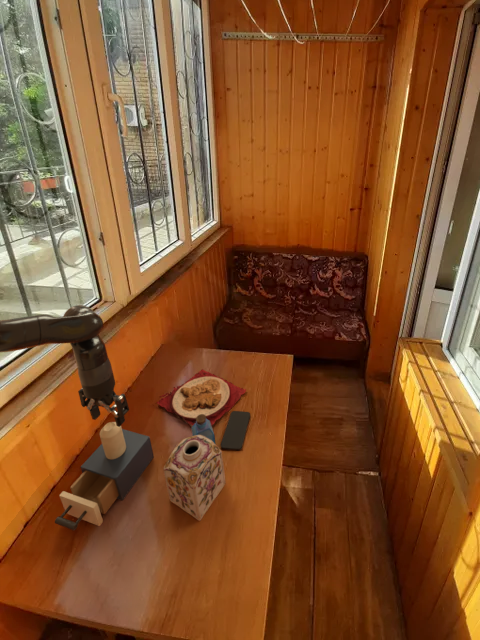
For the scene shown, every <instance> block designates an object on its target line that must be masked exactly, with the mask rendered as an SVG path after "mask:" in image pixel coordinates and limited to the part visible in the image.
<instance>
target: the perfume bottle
mask: <svg viewBox="0 0 480 640" xmlns="http://www.w3.org/2000/svg"><path fill="white" fill-rule="evenodd" d="M195 435H202V436H205V437H207V438H208V439H210V440H212V441H213V442H214V444H215V445H217V444H216V437H215V433H214V429H213V425H212V426H211V423H210V421H209V420H208V419H206V416H205V415H204V414H200V415H198V416H197V417H196V423H195V424H194V425H193V426H191V436H195Z"/></svg>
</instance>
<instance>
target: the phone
mask: <svg viewBox="0 0 480 640" xmlns="http://www.w3.org/2000/svg"><path fill="white" fill-rule="evenodd" d="M250 419H251V413H250V412H249V411H242V410H241V411H240V410H233V411H231V412H230V414H229V418H228V421H227V424H226V427H225V430H224V433H223V436H222V439H221V442H220V448H221V450H227V451H228V450H229V451H241V450H242V449H243V446H244V441H245V438H246V434H247V430H248V426H249V423H250Z"/></svg>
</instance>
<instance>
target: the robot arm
mask: <svg viewBox="0 0 480 640" xmlns="http://www.w3.org/2000/svg"><path fill="white" fill-rule="evenodd" d="M103 329H104V321H103V318H102V317H101V316H100V315H99V314H98V313H97V312H96V311H95V310H93V309H92V308H90V307H89V306H87V305H83V304H77V305H73V306H71V307H69V308H68V309H67V310H66V311H65V312H64V313H63V316H60V317H59V316H53V315H51V314H36V315H35V314H34V315H27V316H22V317H13V318H7V319H0V353H11V352H16V351H22V350H26V349H31V348H35V347H39V346H40V347H41V346H43V345H63V344H70V347H71V348H72V351H73V356H74V360H75V364H76V367H77V374H78V378H79V381H80V386H81V388H80V389H78V392H77V393H78V397H79V400H80V401H79V402H80V405H81V407H82V408H85V407H86V409H87V410H88V411H89V413H90V416H91V419H92V420H94V421H96V420H98V418H99V417H100V415H101V411H100V407H102V408H104V409H105V410H106V411H107V413H111V414H112V415H113V417H114V422H116V425H117V426H118V427H120V426H121V427H122V425H124V423H125V422H126V418H125V415H126V414H127V413H128V412H129V411H130V407H129V404H128V400H127V397H126V395H125V393H121V394H120V395H118V394H117V393H116V392H115V387H116V379H115V375H114V372H113V367H112V364H111V361H110V358H109V355H108V352H107V351H108V350H107V347H106V344H105V342H104V340H103V339H102V337H101V336H100V333H101V332H102V331H103ZM113 403H114V404H113ZM112 404H113V405H112Z"/></svg>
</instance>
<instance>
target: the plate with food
mask: <svg viewBox="0 0 480 640" xmlns="http://www.w3.org/2000/svg"><path fill="white" fill-rule="evenodd" d="M246 392H247V389H246V388H243V387H239V386H237V385H236V384H235V385H234V383H233V382H231V381H228V380H226V379H224V378H223V377H220V376H218V375H216V374H215V373H211V372H210V371H206V370H205V369H203V368H202V369H200V370H199V371H198V372H197V373H195V374H194V376H192V377H191V378H189V379H188V380H187V381H185V382H184V383H183V384H181V385H177V386H176V387H173V390H171V391H170V392H169V393H168V392H166V393H164V394H162V395H161V396H159V398H160V399H159V400H158V401H157V402H156V403H157V404H158V405H159V406H160V408H164V409H165V410H166V411H167V412H169V413H170V414H172V415H174V416H176V418H178V419H180V417H181V418H182V422H185V423H186V424H188V425H189V426H190V427H192V426H193V425H194V424H195V423H196V417H197V416H198V415H200V414H204V415H205V416H206V419H208V420H209V421H210V423H211V426H212V427H213V426H214V424H215V423H216V421H217V420H220V418H221V417H222V416H224V415H225V414H227V413H228V412H229V411H230V410H231V409H232V408H233V407H235V405H236V403H237V402H238V401H239V400H240V399H241V397H242V395H244V394H245V393H246Z"/></svg>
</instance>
